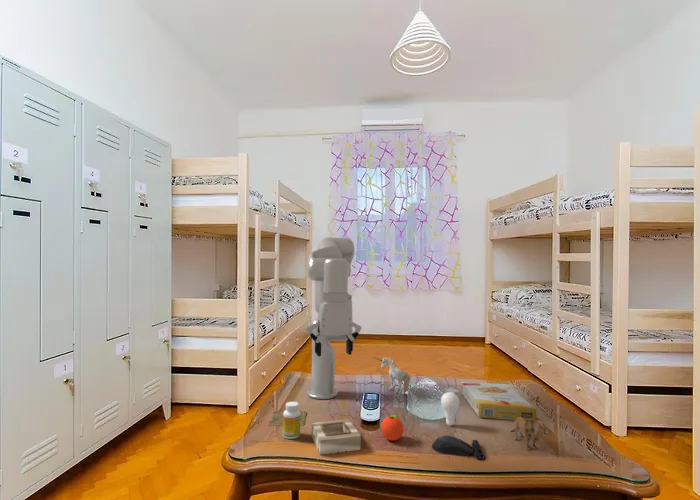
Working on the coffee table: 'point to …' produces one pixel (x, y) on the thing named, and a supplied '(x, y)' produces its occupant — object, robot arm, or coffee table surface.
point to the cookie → (278, 418)
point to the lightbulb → (450, 406)
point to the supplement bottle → (291, 421)
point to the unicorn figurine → (396, 374)
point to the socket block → (335, 436)
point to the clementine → (392, 428)
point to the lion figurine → (529, 431)
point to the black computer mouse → (457, 447)
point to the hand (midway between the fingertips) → (333, 354)
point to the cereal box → (497, 401)
